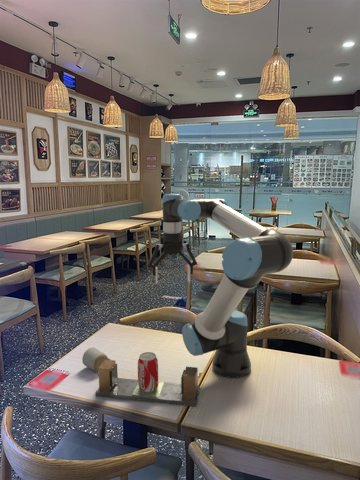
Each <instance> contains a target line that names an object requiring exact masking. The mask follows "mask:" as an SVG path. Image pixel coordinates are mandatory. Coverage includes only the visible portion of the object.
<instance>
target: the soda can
mask: <svg viewBox="0 0 360 480" xmlns="http://www.w3.org/2000/svg"><path fill="white" fill-rule="evenodd" d="M137 380H138V384H139V389H140V390H142V391H144V392H152V391H154V390H155V389H157V387H158V382H159V360H158V357H157V356H156V353H154V352H150V351H147V352H143V353H140V354H139V356H138V359H137Z"/></svg>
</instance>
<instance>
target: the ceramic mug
mask: <svg viewBox="0 0 360 480" xmlns="http://www.w3.org/2000/svg"><path fill="white" fill-rule="evenodd" d="M81 360H82V364H83V365H84V366H85V367H87V368H89V369H90V370H92V371H94V372H96V373H99V372H98V368H99V367H100V365H101V364H102V363H103V361H104V360H112V359H111V358H109V357H108V356H107V355H106V353H104V352H103V351H101V350H99V349H98V348H97V347H89V348H87V349H86V350H85V351H84V353H83V355H82V358H81Z"/></svg>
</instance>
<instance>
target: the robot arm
mask: <svg viewBox="0 0 360 480" xmlns="http://www.w3.org/2000/svg"><path fill="white" fill-rule="evenodd" d="M161 203H162V230H163V233H162V238H163V239H162V244H159V243H156V244H155V248H154V250H153V252H152V255H151V257H150V259H149V261H148V263H147V264H148V268H152V275H153V277H154V276H155V277H154V278H155V284H159V281H158V279H159V278H158V276H159V275H158V274H159V273H158V265H159V264H160V262H161V263H162V260H163V259H164V258H165V257H166V256H167V255H168V256H172V255H178V254H179V256H180V257H182V258H183V261H185V262H186V263H187V264H188V265H187V282H188V283H191V275H192V274H194V266H197V265H198V262H197V260H196V259H195V256H194V254H193V252H192V250H191V249H190V243H188V242H186V243H183V242H182V241H183V240H182V232H181V231H182V220H184V221H195V220H197V219H198V220H199V219H211V220H212V221H213V222H215V223H217V224H218V225H220V226H221V227H223V229H225V230H227V231H228V232H229V233H232V234H233V235H235V236H236V237H238V238H237V239H233V240H231V241H230V242H229V243H227V245H226V246H225V247H224V249H223V251H222V253H221V254H222V255H221V258H222V261H221V265H222V270H223V273H224V275H223V276H222V279H221V281H220V282H219V284H218V286H217V287H216V290H215V291H214V293H213V295H212V297H211V298H210V300H209V302H208V304H207V306H206V307H205V308H204V310H203V311H202V312H199V313H198V314H197V315H196V316H195V318H194V320H193V321H192V322H190V323H187V324H186V323H185V325H183V327H182V328H181V329H182V330H181V335H182V339H183V344H184V346H185V348H186V350H187V351H188V353H189V354H190V355H192V356H193V357H198V356H203V355H204V354H208V353H210V352H214V351H215V353H214V356H213V359H212V365H211V366H212V370H213V371H214V372H215V373H216V374H218V375H219V376H221V377H226V378H235V379H237V378H241V377H245V376H247V375H249V374H250V373H251V371H252V361H251V359H250V357H249V354H248V347H247V346H248V326H249V324H248V316H247V315H246V314H245V313H244V312H242V311H239V310H236V309H237V307H238V306H239V304H240V302H241V301H242V300H243V298H244V297H245V296H246V293H247V292H248V290H250V289H255V288H256V287H257V286H258V284H259V283H260V282H261V280H262V279H263V277H264V276H267V275H270V274H276V273H279V272H283V271H284V270H286V269H287V268H288V267H289V265H290V264H291V263H292V260H293V257H294V248H293V245H292V242H291V241H290V239H288V237H286V236H285V234H283V233H281V232H279V231H277V230H276V229H274V228H271V227H269V228H267V227H264V226H262V225H261V224H259V223H258V222H256V221H255V220H252V219H251V218H249V217H247V216H246V215H244V214H242V213H240V212H239V211H236V209H235V210H234V209H233V208H231V207H230V206H229V205H228V202H227V201H226V200H225V199H224V198H214V197H213V198H203V199H202V198H198V199H197V198H196V199H195V198H194V199H182V195H181V194H179V193H164V194H163V196H162V202H161ZM183 247H184V249H186V251H187V253H188V255H189V257H190V259H191V260H192V262H191V260H190V259H189V258H188V257H187V256H186V254H184V253H183V252H182V251H181V250H182V249H183ZM161 249H163V251H162V252H161V254H160V255H159V257H158V258H157V259H156V257H157V254H158V252H159V251H160V250H161ZM155 259H156V260H155Z"/></svg>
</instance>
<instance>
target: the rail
mask: <svg viewBox="0 0 360 480" xmlns="http://www.w3.org/2000/svg"><path fill="white" fill-rule="evenodd" d="M198 370H199V369H198V367H196V366H186V367H185V369H183V371H182V374H181V377H180V383H173V382H165V381H158V387H157V389H155V390H154V391H152V392H144V391H142V390H140V389H139V384H138V379H135V378H134V379H133V378H121V377H118V376H119V374H118V364H117V362H116V360H114V359H113V360H112V359H111V360H104V361H103V363H102V364H101V365H100V367H99V368H98V372H97V373H98V386H99V387H98V389H97V390H96V391H95V397H96V398H97V397H99V398H108V399H116V400H117V399H118V400H126V401H127V400H128V401H136V402H145V403H146V402H147V403H154V404H155V403H156V404H163V405H164V404H165V405H173V406H182V407H183V406H184V407H193V408H196V407H197V403H198V401H199V400H198V399H199V395H200V390H201V386H200V385H198V383H199V382H198V381H199V380H198V378H199V375H198V373H199V371H198Z"/></svg>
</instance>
